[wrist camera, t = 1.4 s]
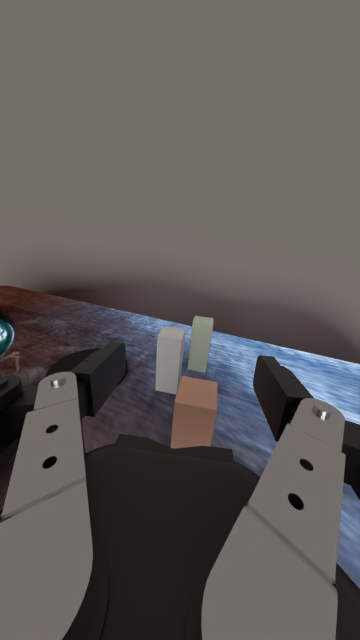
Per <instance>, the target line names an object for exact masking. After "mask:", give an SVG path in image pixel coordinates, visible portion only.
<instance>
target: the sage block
mask: <svg viewBox="0 0 360 640" xmlns="http://www.w3.org/2000/svg"><path fill="white" fill-rule="evenodd" d="M212 328H213V318H206V317H199V316H195V318H194V321H193V325H192V334H191V343H190V351H189V360H188V370H194V371H199V372H205V373H206V367H207V360H208V354H209V348H210V342H211V335H212Z"/></svg>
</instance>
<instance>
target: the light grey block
mask: <svg viewBox="0 0 360 640" xmlns="http://www.w3.org/2000/svg"><path fill="white" fill-rule="evenodd" d="M185 331H186V330H184V329H177V328H171V327H163V329H162V330H161V332H160V333H159V334H158V338H157V363H156V388H155V390H156V391H161V392H166V393H171V394H176V395H177V391H178V388H179V384H180V381H181V371H182V361H183V351H184V341H185Z"/></svg>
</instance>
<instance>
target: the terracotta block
mask: <svg viewBox="0 0 360 640" xmlns="http://www.w3.org/2000/svg"><path fill="white" fill-rule="evenodd" d="M216 415H217V382H213V381H208V380H202V379H197V378H192V377H186V376H182V378H181V381H180V385H179V388H178V392H177V395H176V399H175V404H174V415H173V426H172V437H171V448H174V449H176V448H185V447H195V446H210V444H211V439H212V435H213V430H214V425H215V420H216Z"/></svg>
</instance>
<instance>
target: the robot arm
mask: <svg viewBox="0 0 360 640" xmlns="http://www.w3.org/2000/svg"><path fill="white" fill-rule="evenodd" d="M125 370H126V354H125V344H124V343H120V342H110V343H109V344H108V345H107V346H105V347H104V348H103V349H100V350H98V351H95V352H93V353H92V354H91V355H90V356H88V357H87V358H86V359H85V360H84V361H82V362H81V363H80V364H78V365H77V366H76V367H75V368H73V369H72V370H71V371H70V372H59V373H55V374H52V375H49V376H47V377H46V378H44V379H43V380H41V381H40V383H39V385H28V386H22V383H21V379H20V377H18V376H4V377H0V468H1V466H2V465H3V464H4V463H5V462H6V461H7V460H8V459H9V458H10V457H11V456H12V455H13V454H14V453H15V451H16V450H17V449H18V450H17V454H16V459H15V463H14V467H13V471H12V475H11V479H10V483H9V488H8V492H7V496H6V500H5V504H4V508H3V509H2V510H1V511H0V640H360V589H359V588H358V587H357V585H356V584H355V583H354V582H353V581H352V580H351V579H350V577H349V576H348V575H347V574H346V573H345V572H344V571H343V570H342V568H341V567H340V566H339V565H338V564H337V563H336V561H337V550H338V539H339V527H340V516H341V504H342V493H343V482H344V483H346V484H348V485H351V487H352V488H353V490H354V491H355V493H356V495H357V496H358V498H359V499H360V425H359V424H355V423H352V422H349V421H346V420H345V418H344V416H343V415H342V413H341V412H340V411H339V410H337V409H336V408H335V407H333V406H332V405H330V404H328V403H326V402H324V401H321V400H318V399H314V398H313V396H312V395H311V394H310V393H309V392H308V390H307V389H306V388H305V387H304V386H303V385H302V384H301V382H300V381H299V380H298V379H297V378H296V376H295V375H294V374H293V373H292V372H291V371H290V370H288V369H287V368H285V367H284V366H280V364H279V363H278V362H277V360H276V359H275V358H274V357H272V356H261V355H259V356H258V358H257V363H256V368H255V374H254V379H253V386H254V391H255V393H256V395H257V398H258V400H259V403H260V405H261V407H262V410H263V412H264V414H265V417H266V419H267V421H268V424H269V426H270V429H271V431H272V433H273V436H274V438H275V440H276V441H278V444H277V446H276V448H275V450H274V452H273V454H272V456H271V458H270V460H269V462H268V464H267V466H266V468H265V470H264V472H263V474H262V476H261V478H260V477H259V476H258V475H257V474H255V473H254V472H253V471H252V470H250V469H249V468H247V467H245V466H244V465H242V464H240V463H238V462H236V461H234V460H233V454H232V449H224V448H217V447H210V446H195V447H185V448H176V449H174V448H170V447H167V446H165V445H163V444H160V443H158V442H155V441H153V440H150V439H148V438H145V437H138V436H130V435H123V434H120V435H119V437H118V439H117V441H116V443H115V444H111V445H106V446H103V447H100V448H97V449H94V450H92V451H90V452H88V453H85V444H84V435H83V426H82V418H83V417H84V416H92V417H95V415H96V414H97V412H98V411H99V410H100V408H101V407H102V405H103V404H104V403H105V401H106V400H107V398H108V397H109V396H110V394H111V393H112V391H113V390H114V388H115V387H116V386H117V384H118V383H119V381H120V380H121V379H122V377H123V376H124V374H125Z"/></svg>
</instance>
